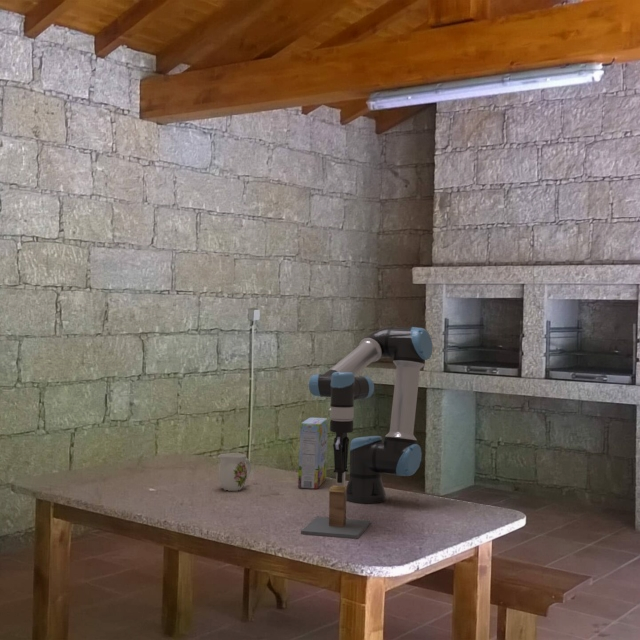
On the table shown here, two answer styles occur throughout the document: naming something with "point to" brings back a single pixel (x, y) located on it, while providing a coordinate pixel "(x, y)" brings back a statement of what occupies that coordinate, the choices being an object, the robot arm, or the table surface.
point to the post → (337, 506)
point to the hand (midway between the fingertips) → (340, 492)
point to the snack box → (312, 453)
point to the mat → (336, 528)
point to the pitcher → (233, 471)
